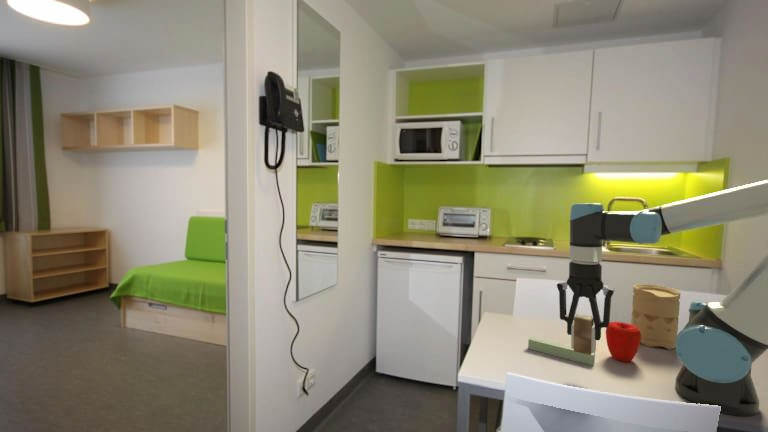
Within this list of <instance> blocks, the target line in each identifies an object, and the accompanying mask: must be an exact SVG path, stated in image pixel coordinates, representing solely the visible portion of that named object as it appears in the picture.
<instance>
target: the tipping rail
mask: <svg viewBox="0 0 768 432" xmlns="http://www.w3.org/2000/svg"><path fill="white" fill-rule="evenodd" d="M527 346H528V347H527V348H528V350H532V351H536V352H538V353H543V354H547V355H549V356H550V355H551V356H555V357H559V358H563V359H567V360H569V361H570V360H571V361H574V362H577V363H582V364H585V365H589V366H594V365H595V358H596V352H595V353H591V355H588V354H584V353H579V352H575V351H574V349H572V348H571V345H564V344H560V343H557V342H553V341H548V340H545V339H541V338H535V337H532V336H530V337H529V338H528V344H527Z"/></svg>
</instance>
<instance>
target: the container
mask: <svg viewBox="0 0 768 432" xmlns="http://www.w3.org/2000/svg"><path fill="white" fill-rule="evenodd" d="M632 293H633V295H632V303H631V304H632V311H631V319H630V320H631V321H630V322H631V323H630V324H631V325H634V326H636V327H637V328H639V329H640V332H641V343H640V344H641V345H643V346H645V347H647V348H654V347H661V348H665V349H666V350H669V351H671V350H674V349H676V338H677V335H678V334H679V316H680V306H681V305H680V303H681V301H680V299H681V291H680V290H678V289H676V288H672V287H669V286H663V285H656V284H649V283H648V284H647V283H642V284H641V283H638V284H634V285H633V291H632Z"/></svg>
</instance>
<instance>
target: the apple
mask: <svg viewBox="0 0 768 432" xmlns="http://www.w3.org/2000/svg"><path fill="white" fill-rule="evenodd" d="M605 337H606V338H605V340H606V345H607V349H608V352H609V353H610V355H611V357H612V358H613V359H615V360H617V361H620V362H623V363H624V362H626V363H627V362H628V363H629V362H632V361H633V359H634V358H635V356H636V355H637V353H638V351H639V349H640V346H641V344H642V343H641V332H640V329H639V328H637V327H636V326H634V325H631V323H627V322H621V321H611V322H610V323H609V326H608V327H607V328H605Z"/></svg>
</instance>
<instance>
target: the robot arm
mask: <svg viewBox="0 0 768 432" xmlns="http://www.w3.org/2000/svg"><path fill="white" fill-rule="evenodd" d="M767 216H768V179H765V180H761V181H757V182H754V183H750V184H745V185H742V186H737V187H733V188H729V189H724V190H721V191H716V192H712V193H708V194H707V193H706V194H704V195H700V196H696V197H691V198H687V199H684V200H678V201H674V202H671V203H668V204H666V203H665V204H662V205H659V206H654V207H649V208H645V209H641V210H633V211H610V210H609V211H608V210H605V209H604V205H603V204H602V203H597V202H596V203H592V202H591V203H589V202H588V203H586V202H585V203H583V202H582V203H579V202H578V203H574V204H572V206H571V207H570V217H569V257H568V258H569V260H570V262H569V265H568V267H569V268H568V269H569V270H568V271H569V272H568V278H567V280H566V281H560V282H558V283H557V284H556V287H557V290H558V294H559V295H558V296H559V298H558V299H559V301H558V302H559V319H560V320H562V321H565V322H566V324H567V325H566V327H567V328H566V329H567V330H566V334H567V335H569V336H571V337H570V347H571V348H572V349H574V317H575V316H576V314H577V313H576V312H577V308H578V305H579V300H580V298H586V299H588V302H589V304H590V310H591V314H592V317H593V320H594V325H593V326H592V332H591V353H595V354H596V351H597V341H600V340H601V338H602V329H603V328H605V329H606V328H607V327H608V326H609V323H610V320H611V306H612V296H613V295H614V293H615V289H614V288H613V287H611V288H610V287H608V286H606V285H605V284H604V282H603V280H602V270H603V269H602V268H603V267H602V266H603V265H602V264H601V262H602V261H603V241H605V242H609V241H610V242H619V243H620V242H622V243H631V244H639V245H642V244H645V245H647V244H649V245H650V244H653V245H655V244H657V243H658V242H659V241H660V239H661V237H662V236H667V235H670V234H671V235H672V234H676V233H681V232H686V231H692V230H696V229H698V230H699V229H703V228H707V227H713V226H718V225H724V224H729V223H734V222H735V223H736V222H740V221H745V220H750V219H756V218H760V217H767ZM568 288H570V289H569V290H571V292H572V293H573V295H572V301H571V304H570V307H569V312H568V313H567V291H566V290H567V289H568ZM600 291H603V292H602V294H603V295H604V304H603V316H602V320H601V316H600V310H599V306H598V301H597V299H598V298H597V295H598V294H599V293H600ZM688 313H689V316H688V322H687V323H686V324H685V326H684V327H683V329H682V330H680V331H679V332H678V334H677V338H676V348H675V352H676V354H677V357H678V358H679V361H680V362H681V363H682V366H681V368H680V370H679V372H678V373H677V374H676V377H675V381H674V382H675V385H674V388H675V390H676V391H677V393H678V394H679V395H681V396H682V397H683V398H685V399H687V400H688V401H690V402H692V403H694V404H696V403H700V404H709V405H718V406H721V412H720V413H723V414H727V415H732V416H738V417H739V416H740V417H751V416H755V415H757V414H759V410H760V399H759V396H758V394H757V390H756V387H755V384H754V382H753V379H752V365H753V363H754V362H755V361H757V360H758V358H760V356H761V355H763V354H765V352H766V351H767V350H768V253H767V254H766V255H765V256H764V257H763V258H762V259H761V260H760V261H759V262H758V263H757V264H756V265H755V266H754V267H753V268H752V270H750V271H749V273H748V274H747V275H746V276H744V278H743V279H742V280H741V281H740V282H739V283H738V284H737V285H736V286H735V287H734V288H733V290H731V291H730V292H729V293H728V294H727V296H726V297H724V299H723V300H722V301H705V300H694V301H692V302H691V303H690V306H689V309H688ZM567 314H568V315H567Z"/></svg>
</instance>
